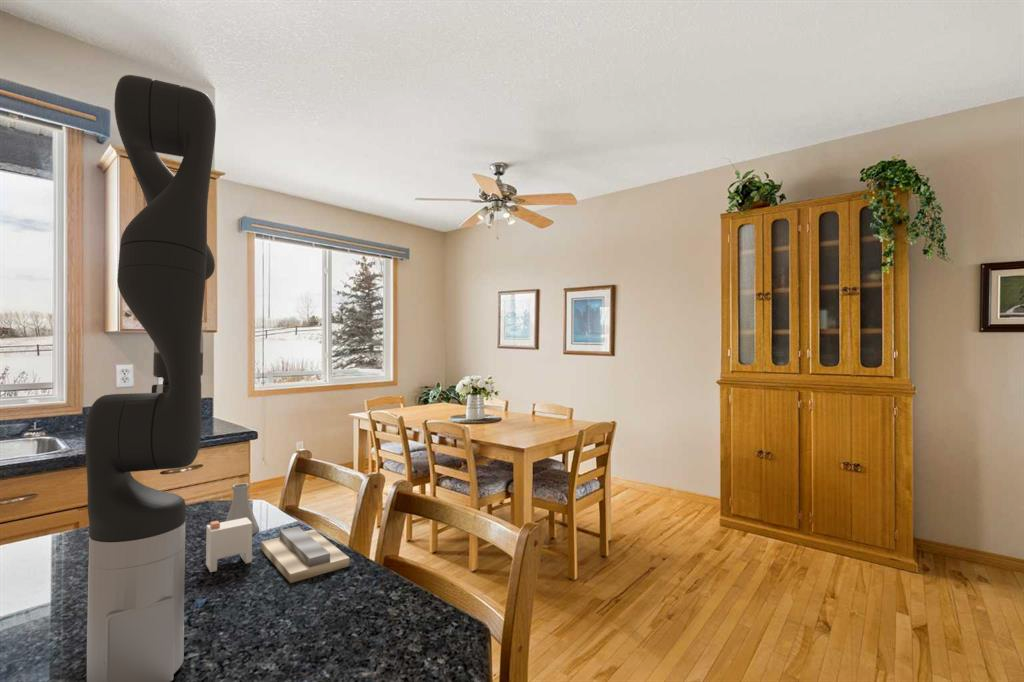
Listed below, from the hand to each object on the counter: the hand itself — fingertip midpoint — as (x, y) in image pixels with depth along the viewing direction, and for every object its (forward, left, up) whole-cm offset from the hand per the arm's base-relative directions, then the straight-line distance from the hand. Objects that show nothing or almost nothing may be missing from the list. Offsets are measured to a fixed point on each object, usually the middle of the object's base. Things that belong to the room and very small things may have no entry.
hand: (177, 440), depth 90 cm
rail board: (-13, -18, -22) cm, 31 cm away
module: (-7, -7, -22) cm, 24 cm away
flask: (+8, -12, -22) cm, 27 cm away
